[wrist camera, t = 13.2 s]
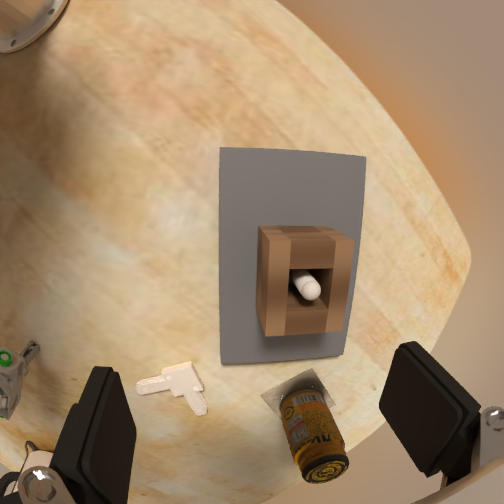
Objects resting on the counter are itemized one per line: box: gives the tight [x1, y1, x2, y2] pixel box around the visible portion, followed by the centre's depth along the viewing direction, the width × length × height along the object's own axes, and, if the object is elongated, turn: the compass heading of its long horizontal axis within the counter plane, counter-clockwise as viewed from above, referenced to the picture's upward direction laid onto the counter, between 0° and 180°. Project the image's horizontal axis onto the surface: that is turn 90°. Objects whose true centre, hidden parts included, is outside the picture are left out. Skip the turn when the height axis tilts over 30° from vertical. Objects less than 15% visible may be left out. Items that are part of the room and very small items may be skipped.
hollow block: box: [255, 225, 354, 336], centre depth 27 cm, size 8×7×6 cm
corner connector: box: [135, 361, 208, 416], centre depth 34 cm, size 8×8×2 cm
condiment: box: [260, 369, 349, 484], centre depth 31 cm, size 7×8×12 cm
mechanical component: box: [0, 341, 40, 420], centre depth 26 cm, size 3×10×10 cm, turn 149°
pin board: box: [219, 147, 366, 364], centre depth 27 cm, size 22×14×8 cm, turn 179°
